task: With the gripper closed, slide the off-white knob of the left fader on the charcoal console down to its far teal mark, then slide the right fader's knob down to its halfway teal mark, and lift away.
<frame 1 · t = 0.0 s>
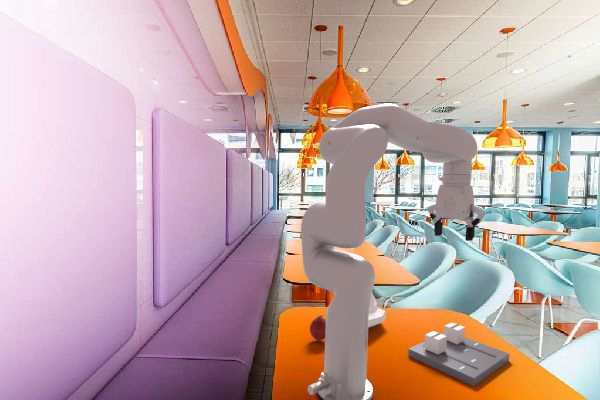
hand: (453, 237, 109), 31 cm above the table, tool pointing down, fingers open, 9 cm apart
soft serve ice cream: (364, 327, 118), on the table
console: (458, 358, 99), on the table
onion: (319, 341, 107), on the table
left fader: (435, 342, 99), point 4 cm above the table, slide at 0.0 cm
right fader: (454, 332, 105), point 4 cm above the table, slide at 0.0 cm
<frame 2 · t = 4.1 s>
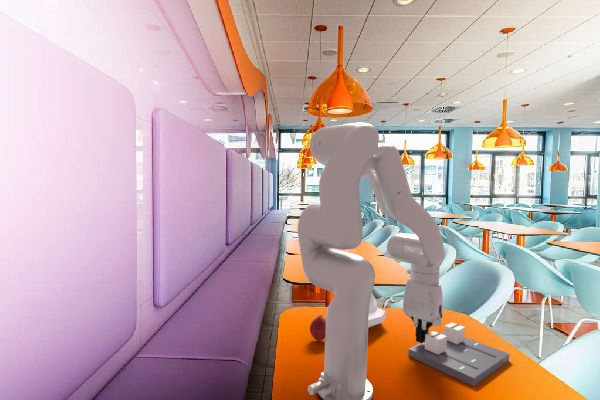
hand: (421, 340, 102), 3 cm above the table, tool pointing down, fingers closed
left fader: (435, 342, 99), point 4 cm above the table, slide at 0.0 cm, touching gripper
everything else where it was.
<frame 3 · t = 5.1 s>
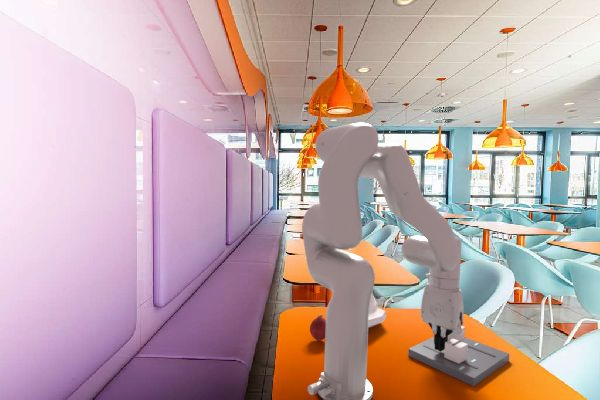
hand: (440, 348, 98), 3 cm above the table, tool pointing down, fingers closed
left fader: (456, 350, 94), point 4 cm above the table, slide at 5.8 cm, touching gripper
everything else where it was.
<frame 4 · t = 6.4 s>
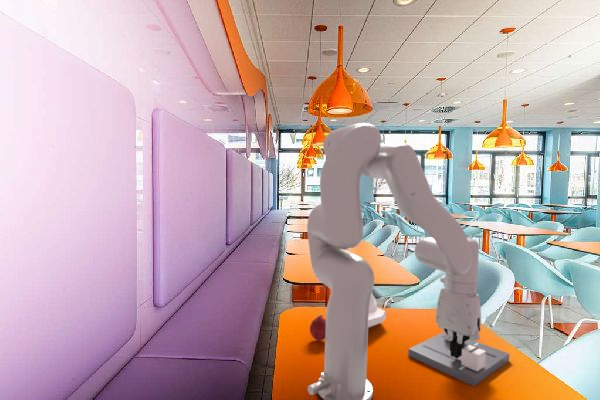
hand: (456, 355, 94), 3 cm above the table, tool pointing down, fingers closed
left fader: (473, 357, 91), point 4 cm above the table, slide at 10.3 cm, touching gripper
everything else where it was.
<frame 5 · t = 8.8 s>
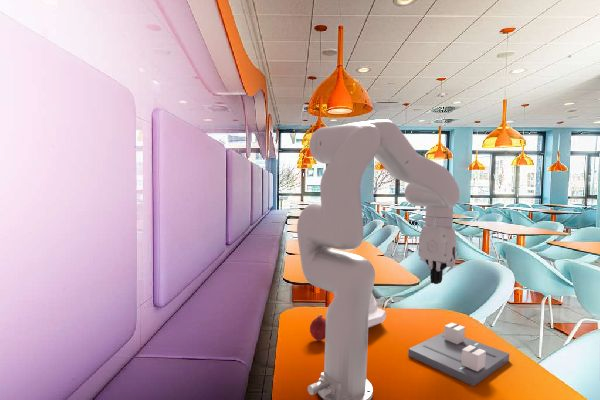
hand: (436, 282, 109), 18 cm above the table, tool pointing down, fingers closed
left fader: (473, 357, 91), point 4 cm above the table, slide at 10.3 cm
everything else where it was.
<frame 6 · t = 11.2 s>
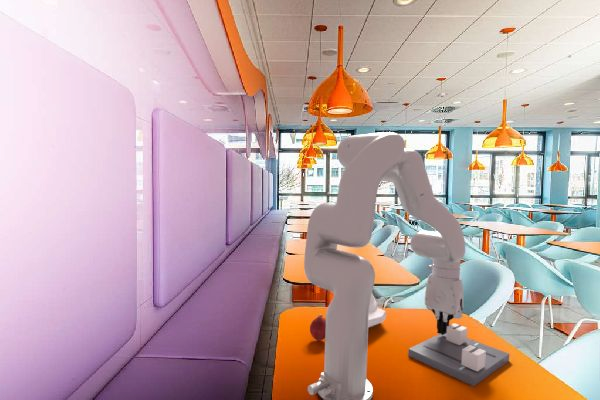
hand: (442, 332, 108), 3 cm above the table, tool pointing down, fingers closed
right fader: (456, 333, 104), point 4 cm above the table, slide at 0.7 cm, touching gripper
everything else where it was.
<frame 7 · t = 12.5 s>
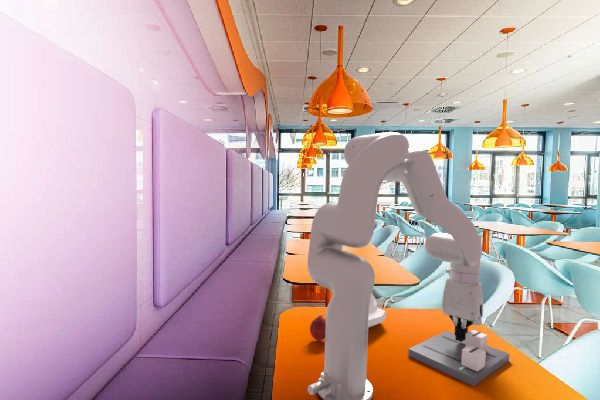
hand: (460, 339, 103), 3 cm above the table, tool pointing down, fingers closed
right fader: (476, 340, 100), point 4 cm above the table, slide at 6.2 cm, touching gripper
everything else where it was.
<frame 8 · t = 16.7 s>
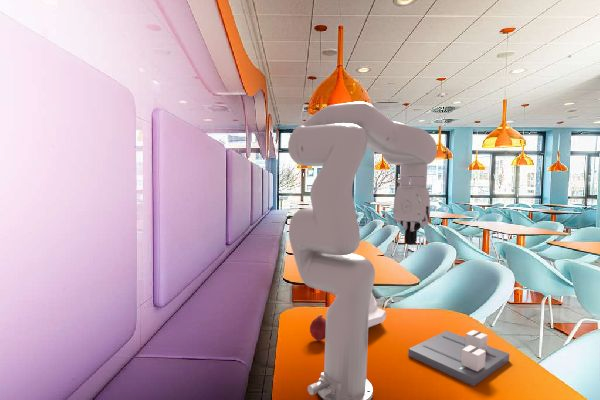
hand: (410, 243, 109), 29 cm above the table, tool pointing down, fingers closed
right fader: (476, 341, 100), point 4 cm above the table, slide at 6.3 cm
everything else where it was.
at the end: left fader slide at 10.3 cm; right fader slide at 6.3 cm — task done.
